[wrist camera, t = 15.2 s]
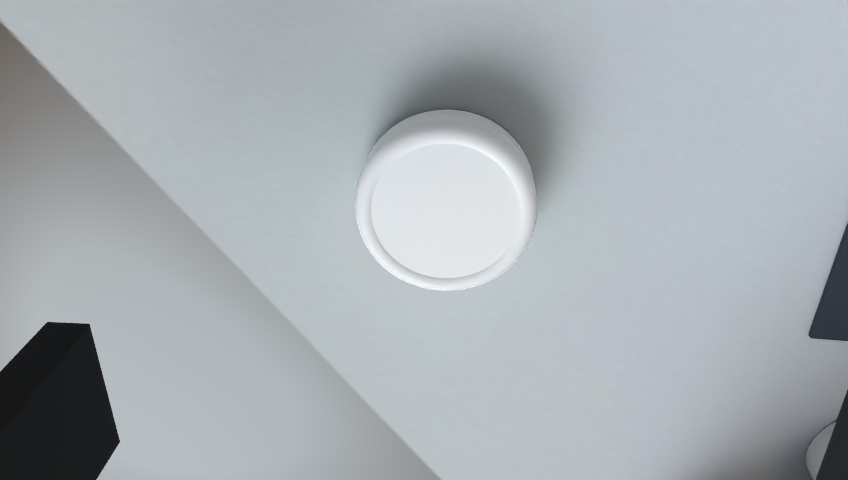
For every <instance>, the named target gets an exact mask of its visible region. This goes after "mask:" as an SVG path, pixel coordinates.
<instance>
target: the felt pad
mask: <svg viewBox="0 0 848 480" xmlns="http://www.w3.org/2000/svg"><path fill="white" fill-rule="evenodd" d="M809 336H810V338H815V339H828V340H841V341H848V224H847V227H846V230H845V233H844V236H843V238H842V241H841V244H840V247H839V250H838V252H837V255H836V258H835V261H834V264H833V267H832V269H831V272H830V275H829V278H828V281H827V284H826V286H825V289H824V292H823V295H822V298H821V301H820V303H819V306H818V309H817V312H816V315H815V317H814V320H813V323H812V326H811V329H810V332H809Z"/></svg>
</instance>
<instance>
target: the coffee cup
mask: <svg viewBox="0 0 848 480" xmlns="http://www.w3.org/2000/svg"><path fill="white" fill-rule="evenodd" d="M835 424H836V422H834V423H832V424H830V425H829V426H827V427H826V428H824V429H823V430H822V431H821V432H820V433H819V434H818V435H817V436H816V437H815V438H814V439H813V441H812V442H811V444H810V445H809V448H808V450H807V454H806V465H807V468H808V471H809V473H810V475H811V477H812V480H816V477H817V474H818V471H819V468H820V466H821V463H822V460H823V457H824V455H825V452H826V449H827V446H828V443H829V441H830V438H831V435H832V432H833V429H834V427H835Z"/></svg>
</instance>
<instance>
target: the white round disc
mask: <svg viewBox="0 0 848 480" xmlns="http://www.w3.org/2000/svg"><path fill="white" fill-rule="evenodd" d="M355 213H356V220H357V224H358V227H359V231H360V234H361V236H362V238H363V240H364V243H365V245H366V246H367V248H368V249H369V251H370V253H371V254H372V255H373V256H374V258H375V259H376V260H377V261H378V262H379V263H380V264H381V265H382V266H383V267H384V268H385V269H386V270H388V271H389V272H390V273H392V274H393V275H394V276H396V277H398V278H400V279H401V280H403V281H405V282H408V283H410V284H412V285H415V286H419V287H422V288H426V289H432V290H441V291H453V290H462V289H468V288H472V287H476V286H479V285H482V284H484V283H487V282H489V281H491V280H493V279H495V278H497V277H498V276H500V275H501V274H503V273H504V272H505V271H507V270H508V269H509V268H510V267H511V266H512V265H513V264H514V263H515V262H516V261H517V260H518V259H519V257H520V256H521V255H522V253H523V252H524V250H525V249H526V247H527V245H528V243H529V241H530V239H531V237H532V234H533V231H534V228H535V224H536V218H537V196H536V190H535V185H534V180H533V174H532V171H531V167H530V164H529V162H528V160H527V158H526V155H525V153H524V152H523V150H522V149H521V147H520V146H519V144H518V143H517V142H516V141H515V139H514V138H513V137H512V136H511V135H510V134H509V133H508V132H507V131H505V130H504V129H503V128H502V127H501V126H499V125H498V124H496V123H494V122H493V121H491V120H489V119H487V118H485V117H482V116H480V115H477V114H474V113H470V112H466V111H460V110H447V109H445V110H433V111H428V112H423V113H420V114H417V115H413V116H411V117H409V118H407V119H404V120H402V121H401V122H399V123H398V124H396V125H394V126H393V127H392V128H390V129H389V130H388V131H387V132H386V133H384V134H383V136H382V137H381V138H380V139H379V140H378V141H377V142H376V144H375V145H374V147H373V148H372V150H371V151H370V153H369V156H368V158H367V160H366V162H365V165H364V167H363V170H362V173H361V175H360V178H359V181H358V184H357V188H356V195H355Z"/></svg>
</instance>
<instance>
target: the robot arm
mask: <svg viewBox="0 0 848 480" xmlns="http://www.w3.org/2000/svg"><path fill="white" fill-rule="evenodd" d="M119 442H120V440H119V437H118V433H117V429H116V425H115V421H114V418H113V413H112V410H111V406H110V402H109V398H108V394H107V390H106V386H105V383H104V379H103V375H102V371H101V368H100V363H99V360H98V355H97V352H96V348H95V344H94V340H93V336H92V332H91V328H90V324H79V323H56V322H54V323H53V322H47V323H46V324H45V325H44V326H43V327H42V328H41V329H40V331H38V332H37V334H36V335H35V336H34V337H33V338H32V339H31V340H30V341H29V342H28V343H27V344H26V345H25V346H24V347H23V348H22V349H21V350H20V351H19V353H18V354H17V355H16V356H15V357H14V358H13V359H12V360H11V361H10V362H9V363H8V364H7V365H6V366H5V367H4V368H3V370H2V371H1V372H0V480H96V479H97V478H98V476H99V474H100V473H101V471H102V469H103V468H104V466H105V465H106V463H107V462H108V460H109V458H110V457H111V455H112V454H113V452H114V450H115V449H116V447H117V446H118V444H119ZM816 480H848V390H847V393H846V396H845V399H844V402H843V404H842V407H841V410H840V413H839V415H838V418H837V421H836V424H835V427H834V429H833V432H832V435H831V438H830V441H829V443H828V446H827V449H826V452H825V455H824V457H823V460H822V463H821V466H820V468H819V471H818V474H817V477H816Z"/></svg>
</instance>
